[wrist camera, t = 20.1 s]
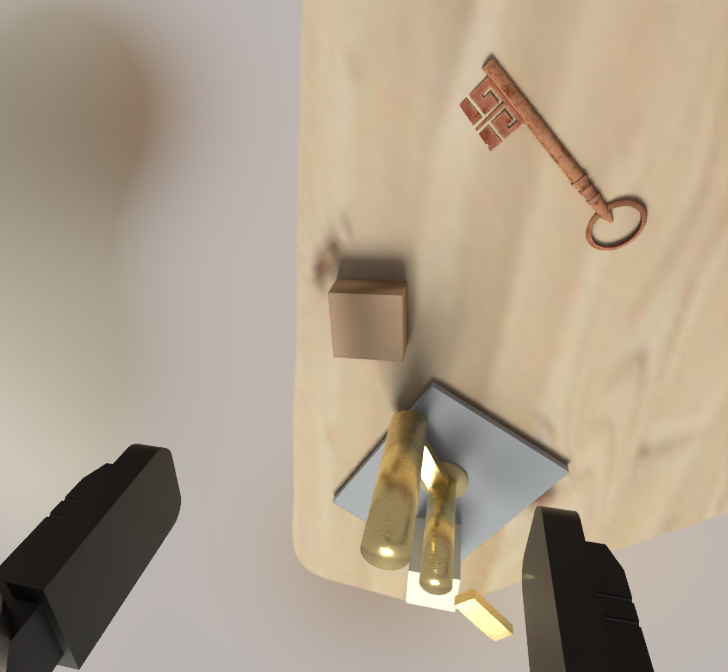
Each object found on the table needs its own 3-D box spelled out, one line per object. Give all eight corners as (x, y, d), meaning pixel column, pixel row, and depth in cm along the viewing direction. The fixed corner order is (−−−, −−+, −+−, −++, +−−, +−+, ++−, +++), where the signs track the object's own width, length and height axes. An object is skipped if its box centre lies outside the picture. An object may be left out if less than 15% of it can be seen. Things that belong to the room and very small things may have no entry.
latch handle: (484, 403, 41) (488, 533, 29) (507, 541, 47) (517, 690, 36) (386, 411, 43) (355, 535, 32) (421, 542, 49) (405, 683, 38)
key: (440, 109, 33) (576, 273, 36) (438, 111, 32) (578, 278, 36) (514, 36, 30) (655, 222, 33) (514, 36, 29) (659, 227, 33)
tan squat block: (407, 280, 39) (402, 295, 36) (407, 342, 41) (402, 361, 39) (337, 277, 40) (328, 292, 37) (342, 339, 42) (333, 357, 40)
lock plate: (567, 465, 44) (582, 528, 38) (449, 563, 52) (446, 627, 46) (433, 381, 42) (426, 432, 36) (334, 496, 51) (316, 553, 45)
